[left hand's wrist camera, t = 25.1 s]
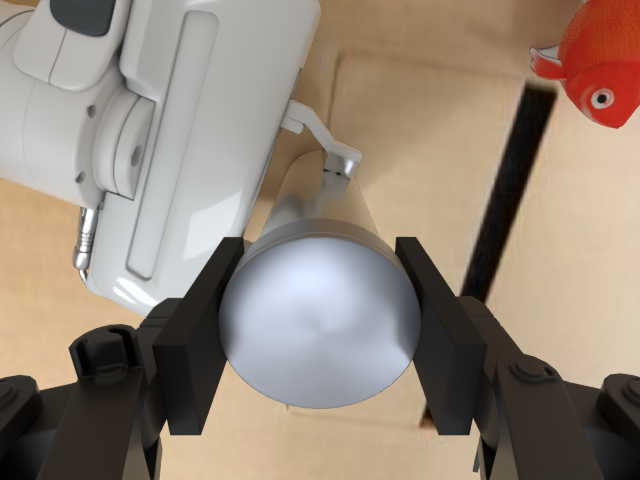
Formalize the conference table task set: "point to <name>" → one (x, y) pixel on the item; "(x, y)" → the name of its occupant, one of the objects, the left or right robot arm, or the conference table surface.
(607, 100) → the fish
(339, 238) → the lid
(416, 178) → the conference table surface
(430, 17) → the conference table surface
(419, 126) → the conference table surface
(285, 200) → the bottle
